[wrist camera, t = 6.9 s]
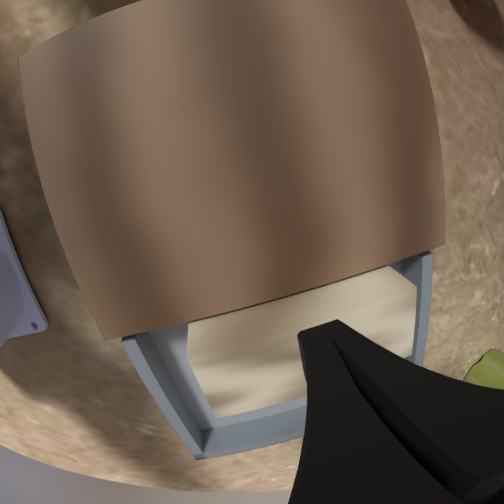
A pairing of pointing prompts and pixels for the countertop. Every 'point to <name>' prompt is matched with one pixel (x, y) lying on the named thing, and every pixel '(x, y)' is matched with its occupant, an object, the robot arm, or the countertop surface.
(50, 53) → the walnut plate
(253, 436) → the box
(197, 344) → the cream rectangular box
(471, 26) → the countertop surface
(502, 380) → the plant pot
